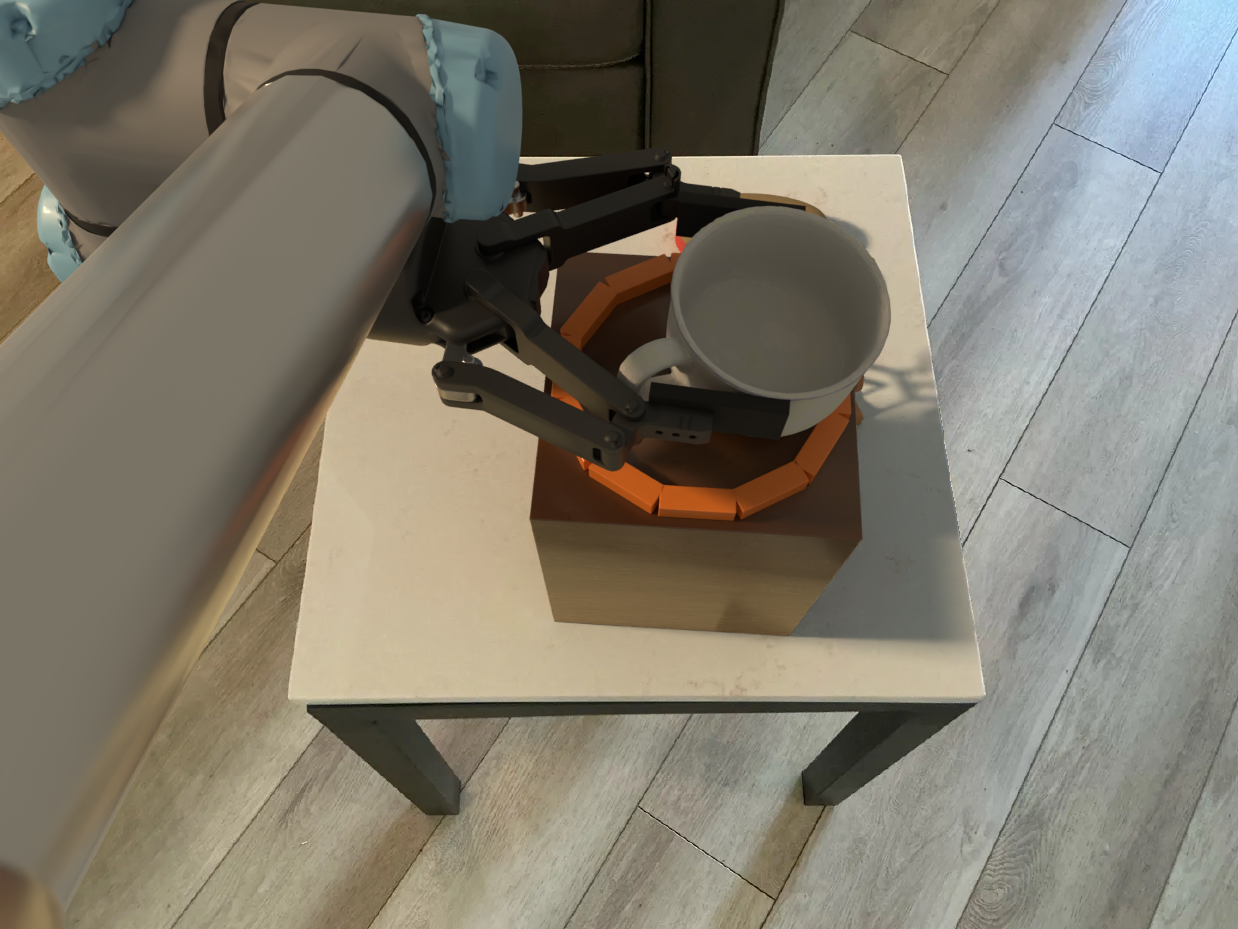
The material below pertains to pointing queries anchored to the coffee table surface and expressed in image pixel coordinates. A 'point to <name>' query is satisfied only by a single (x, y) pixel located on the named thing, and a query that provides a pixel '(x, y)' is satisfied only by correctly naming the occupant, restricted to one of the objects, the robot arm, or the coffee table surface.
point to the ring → (683, 497)
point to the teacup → (770, 314)
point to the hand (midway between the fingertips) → (793, 319)
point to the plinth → (684, 547)
